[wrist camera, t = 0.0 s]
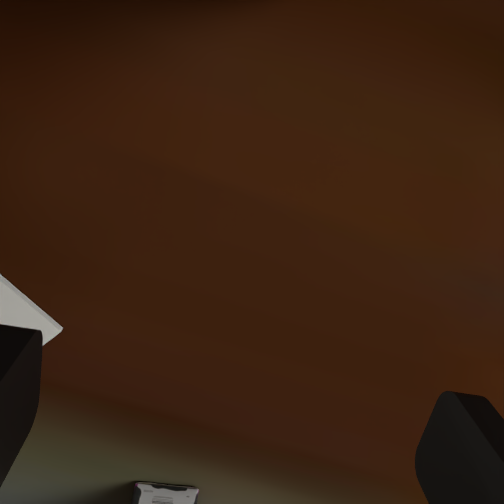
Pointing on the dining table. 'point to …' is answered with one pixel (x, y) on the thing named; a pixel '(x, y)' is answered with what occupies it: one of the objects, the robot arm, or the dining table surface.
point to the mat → (24, 312)
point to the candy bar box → (163, 494)
